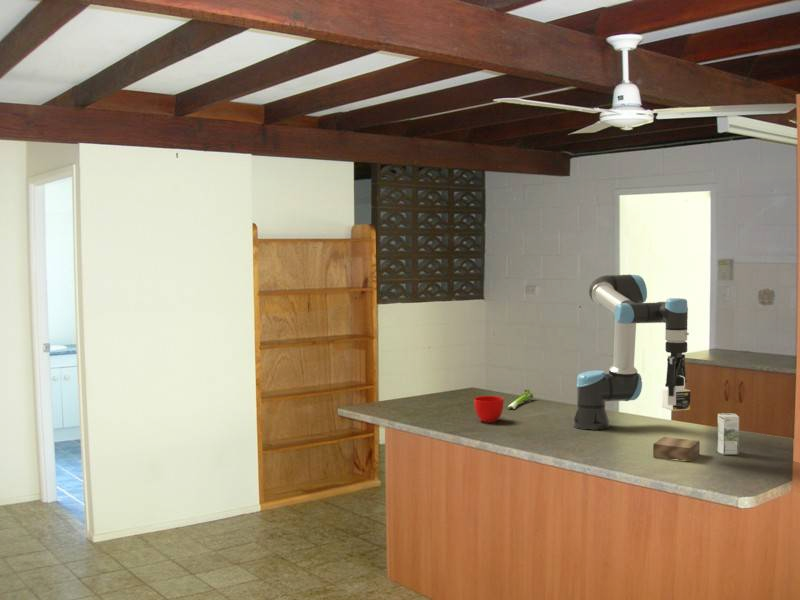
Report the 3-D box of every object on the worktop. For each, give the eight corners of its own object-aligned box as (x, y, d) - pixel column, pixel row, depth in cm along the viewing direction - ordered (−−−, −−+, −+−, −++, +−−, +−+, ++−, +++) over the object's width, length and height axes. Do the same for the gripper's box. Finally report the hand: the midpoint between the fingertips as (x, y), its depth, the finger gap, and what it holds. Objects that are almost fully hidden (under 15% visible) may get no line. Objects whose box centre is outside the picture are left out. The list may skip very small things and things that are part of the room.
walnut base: (653, 457, 308) (653, 443, 307) (663, 450, 319) (663, 436, 318) (689, 462, 301) (690, 448, 300) (699, 454, 311) (699, 440, 311)
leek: (503, 413, 403) (522, 398, 430) (517, 416, 400) (535, 400, 427) (504, 401, 402) (523, 386, 429) (518, 404, 399) (537, 389, 426)
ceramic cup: (503, 416, 386) (503, 394, 386) (504, 424, 370) (503, 401, 369) (474, 416, 388) (474, 394, 387) (474, 423, 371) (473, 401, 370)
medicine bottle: (673, 411, 304) (673, 377, 303) (661, 407, 311) (662, 374, 310) (690, 409, 306) (690, 376, 305) (679, 406, 313) (679, 373, 312)
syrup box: (732, 451, 315) (732, 412, 314) (739, 455, 309) (739, 415, 308) (716, 451, 315) (717, 412, 314) (723, 455, 309) (723, 416, 308)
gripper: (678, 345, 296) (677, 408, 297) (695, 338, 314) (694, 398, 316) (656, 344, 300) (656, 406, 301) (674, 337, 318) (674, 396, 320)
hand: (676, 402), depth 308 cm, fingers closed on medicine bottle, 10 cm apart
